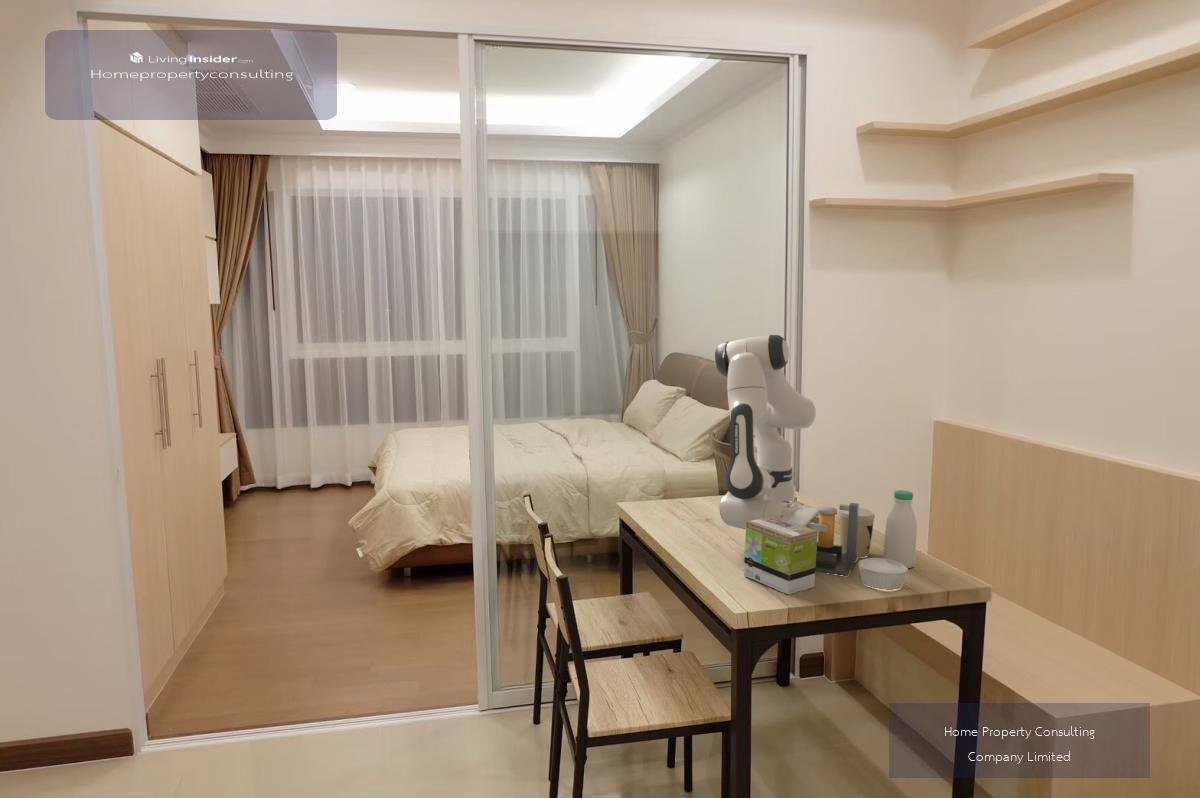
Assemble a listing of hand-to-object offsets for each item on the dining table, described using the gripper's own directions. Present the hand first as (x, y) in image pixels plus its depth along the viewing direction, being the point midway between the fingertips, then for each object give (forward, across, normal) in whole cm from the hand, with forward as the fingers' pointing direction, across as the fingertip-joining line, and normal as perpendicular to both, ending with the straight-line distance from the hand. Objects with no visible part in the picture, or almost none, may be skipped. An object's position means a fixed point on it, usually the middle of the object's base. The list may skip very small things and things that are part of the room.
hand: (830, 525), depth 204 cm
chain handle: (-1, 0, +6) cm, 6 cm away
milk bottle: (+17, +9, +11) cm, 22 cm away
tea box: (-8, -20, +11) cm, 24 cm away
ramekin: (+15, -9, +11) cm, 20 cm away
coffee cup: (+5, +13, +11) cm, 18 cm away
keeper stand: (+1, 0, +11) cm, 11 cm away
